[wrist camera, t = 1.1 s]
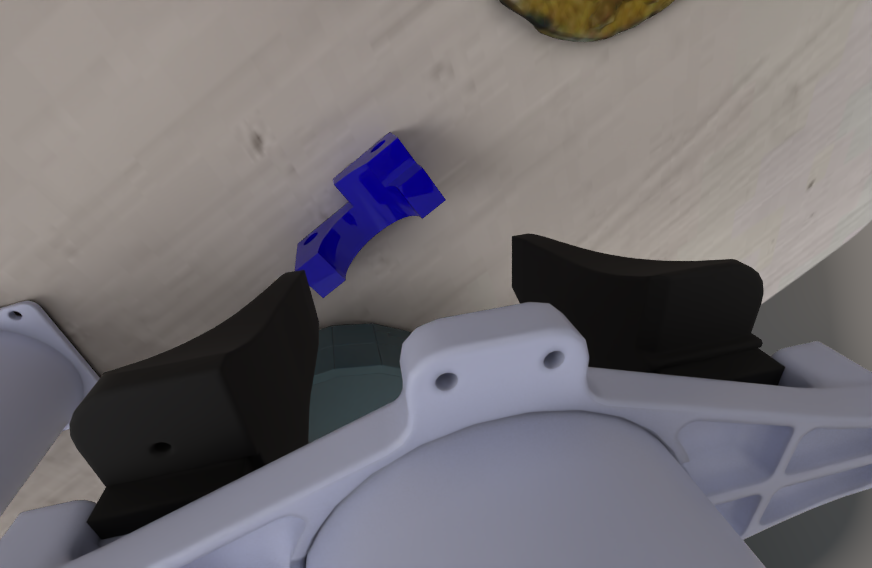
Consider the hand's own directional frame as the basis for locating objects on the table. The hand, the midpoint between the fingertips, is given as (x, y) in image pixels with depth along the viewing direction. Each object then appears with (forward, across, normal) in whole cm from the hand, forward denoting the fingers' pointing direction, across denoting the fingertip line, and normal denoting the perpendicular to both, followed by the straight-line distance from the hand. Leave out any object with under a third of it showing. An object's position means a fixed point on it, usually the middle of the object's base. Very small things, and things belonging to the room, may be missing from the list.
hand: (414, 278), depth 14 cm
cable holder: (+11, +2, 0) cm, 11 cm away
